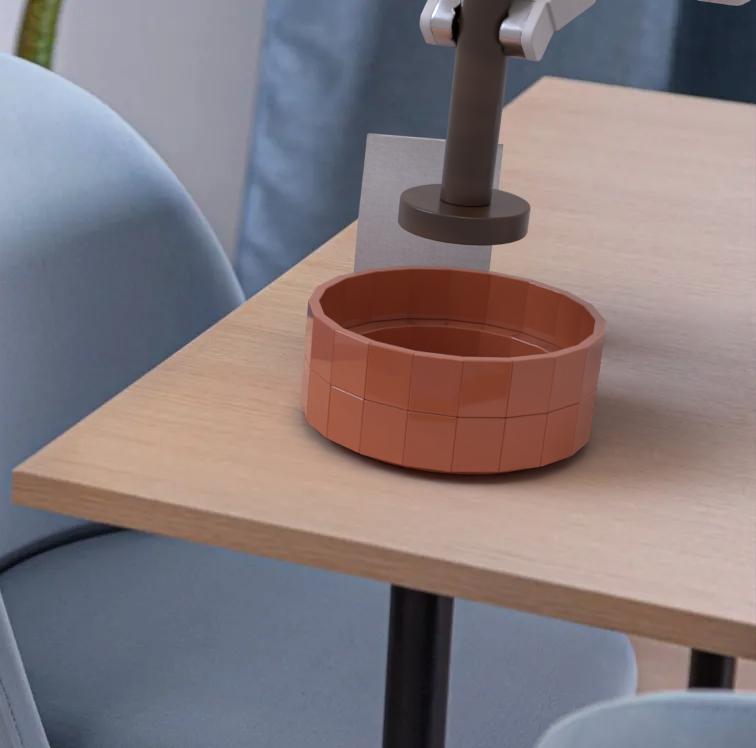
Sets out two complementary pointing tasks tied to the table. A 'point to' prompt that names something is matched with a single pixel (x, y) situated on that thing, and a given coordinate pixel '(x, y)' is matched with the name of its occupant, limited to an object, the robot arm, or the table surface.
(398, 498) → the table surface
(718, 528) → the table surface
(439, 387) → the bowl
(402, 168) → the grey rectangular block
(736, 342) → the table surface
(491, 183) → the rod
